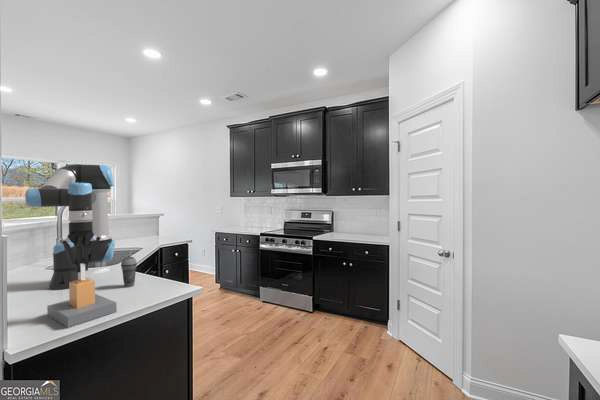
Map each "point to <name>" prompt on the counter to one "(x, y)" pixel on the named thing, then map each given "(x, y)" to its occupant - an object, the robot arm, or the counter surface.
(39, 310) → the counter surface
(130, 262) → the beverage cup
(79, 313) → the socket
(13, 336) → the counter surface
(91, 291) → the plug
